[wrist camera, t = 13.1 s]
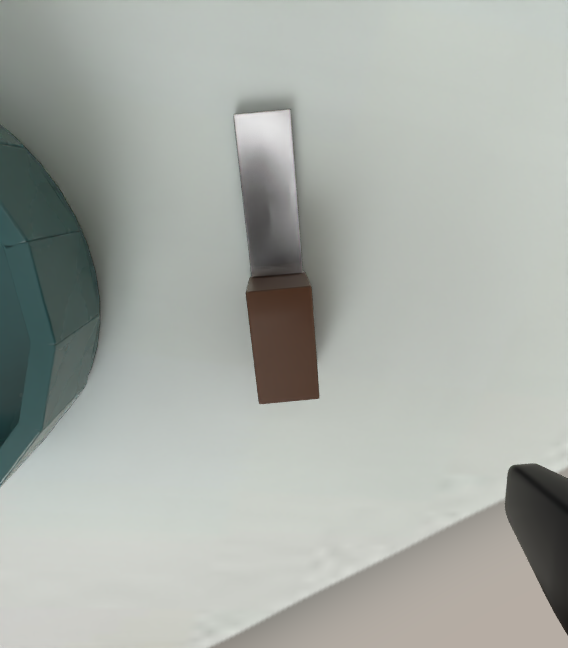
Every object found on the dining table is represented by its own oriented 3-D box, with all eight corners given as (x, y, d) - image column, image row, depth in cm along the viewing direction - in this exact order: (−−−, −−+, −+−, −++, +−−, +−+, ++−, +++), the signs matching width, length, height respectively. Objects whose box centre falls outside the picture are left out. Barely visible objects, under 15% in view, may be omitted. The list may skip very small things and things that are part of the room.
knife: (230, 115, 13) (222, 99, 11) (293, 110, 13) (298, 92, 11) (260, 374, 16) (258, 404, 14) (312, 369, 16) (319, 399, 14)
